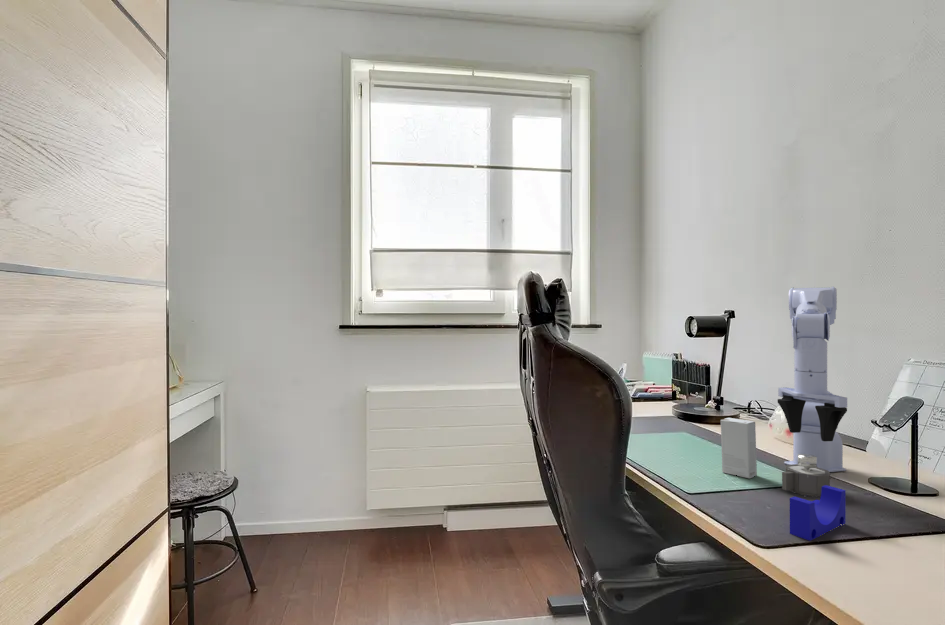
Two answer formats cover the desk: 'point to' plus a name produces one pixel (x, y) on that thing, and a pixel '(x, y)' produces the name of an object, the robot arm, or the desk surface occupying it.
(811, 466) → the plunger
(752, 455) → the skincare box
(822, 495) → the blue u-shaped cradle block
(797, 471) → the press
